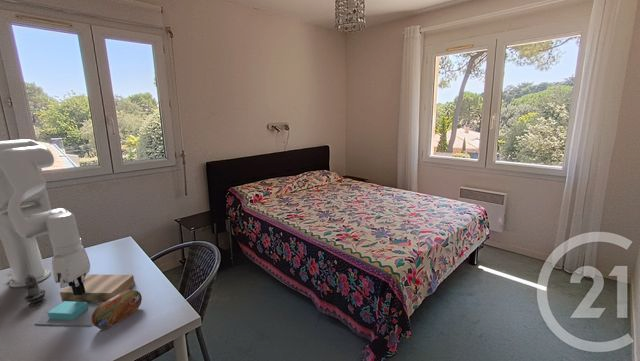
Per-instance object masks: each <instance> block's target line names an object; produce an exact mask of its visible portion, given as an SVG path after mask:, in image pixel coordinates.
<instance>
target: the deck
mask: <svg viewBox="0 0 640 361" xmlns="http://www.w3.org/2000/svg"><path fill="white" fill-rule="evenodd" d="M134 278H135V277H134V274H103V273H102V274H101V273H99V274H93V273H92V274H88V273H87V274H86V276H85V281H84V283H83V284H84V287H85V291H86V292H85V293H84V294H83V295H74V294H73V290H72V287H70V286H68V287H65V288H63V290H61V291H60V292H59V294H60V298H61V303H62V302H64V301H72V302H87V303H104V302H105V301H107V300H109V299H111V298H112V297H114V296H116V295H118V294H120V293H121V292H123V291H125V290H130V288H132V287H133V286H134V285H135V284H136V282H135V279H134Z"/></svg>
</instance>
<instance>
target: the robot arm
mask: <svg viewBox="0 0 640 361" xmlns="http://www.w3.org/2000/svg"><path fill="white" fill-rule="evenodd" d="M54 162H55V158H54V154H53V153H52V152H51V150H50V149H49V148H48V147H47V146H46V145H44V144H42V143H40V142H38V141H35V140H33V139H25V138H24V139H12V140H0V208H1V209H2V208H7V209H6V210H2V211H0V241H1V243H2V246H3V249H4V251H5V254H6V255H5V256H6V258H7V261H8V262H7V263H8V265H9V268H10V272H8V273H7V275H6V276H7V277H11V278H12V279H11V280H10V281H9V286H10V287H11V288H22V287H26V283H25V279H26V278H27V277H28V275H30V276H35V278H36V281H37V283H40V282H42V281H44V280H46V279H47V278H48V277H50V276H51V275H52V274H53V278H54V281H55V284H59V288H62V289H65V288H67V287H68V286H70V287H72V290H73V294H74V295H83V294H84V293H85V292H86V291H85V287H84V284H83V283H84V281H85V276H86V275H87V274H88V273H90V271H91V270H90V269H91V262H90V258H89V256H88V253H87V251H86V249H85V247H84V246H83V245H82V242H83V239H82V238H81V237H80V236H81V235H80V232H79V229H78V225H77V221H76V216H75V215H74V213H72V212H70V211H69V210H67V209H66V208H63V207H59V208H58V207H57V208H53V209H52V205H51V203H50V198H49V194H48V190H47V188H46V185H47V181H46V179H45V178H44V176H43V175H42V173H41V170H39V169H44V168H45V169H46V168H50V167H52V166H53V165H54V164H55V163H54ZM28 203H32V204H28ZM25 204H27V205H25ZM21 205H23V206H21ZM46 234H48V237H49V240H50V244H51V248H52V251H53V256H52V258H51V268H52V270H50V269H49V268H45V265H44V261H43V258H42V254H41V252H40V248H39V244H38V240H37V238H36V237H39V236H43V235H46Z"/></svg>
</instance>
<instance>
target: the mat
mask: <svg viewBox="0 0 640 361" xmlns="http://www.w3.org/2000/svg"><path fill="white" fill-rule="evenodd" d="M102 303H103V302H87V304H88V309H87V310H85V311H84V312H83V313H81V314H80V315H79V316H77V317H76V318H75V319H74V320H68V319H49V316H48V314H45V316H43V317H42V318H40V319H39V320H38V321H36V322H35V323H34V326H58V327H59V326H61V327H62V326H63V327H93V326H94V325H93V323H92V314H93V312H94V310H95V309H96V308H97V307H98V306H99V305H100V304H102Z"/></svg>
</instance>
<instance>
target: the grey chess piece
mask: <svg viewBox="0 0 640 361" xmlns="http://www.w3.org/2000/svg"><path fill="white" fill-rule="evenodd" d="M25 283H26V286H24V287H25V289H26V290H27V294H26V295H25V296H24V297H23V300H25V301H26V303H28V304H27V308H30V309H32V308H36V307H40V306H41V305H43V304H45V303H46V302H47V301H48V300H47V298H46V297H45V295H46V290H44V289H40V287H39V284H40V282H37V281H36V278H35V276H30V275H28V277H27V278H26V279H25Z"/></svg>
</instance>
